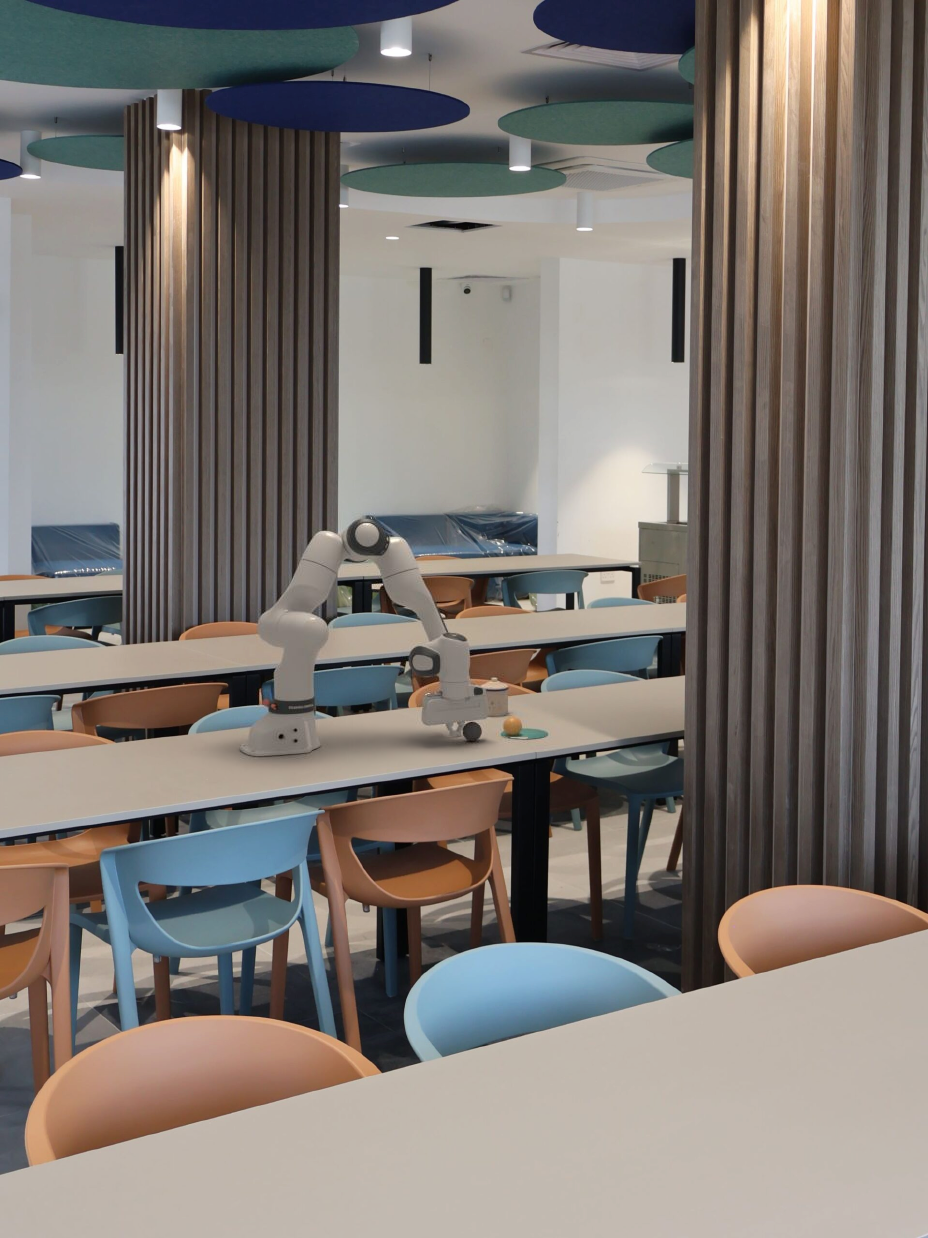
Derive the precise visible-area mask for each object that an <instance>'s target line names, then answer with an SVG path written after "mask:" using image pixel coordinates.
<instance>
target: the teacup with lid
mask: <svg viewBox="0 0 928 1238" xmlns="http://www.w3.org/2000/svg"><path fill="white" fill-rule="evenodd" d="M480 686H481V687H484V688H485V689H486V694H485V695H484V696H486V698H487V701H488V712H489V713H488V717H493V718H494V717H496V718H497V717H504V716H506V715H508V713H509V685H508V684H506V683H503V682H502V681H500V680H498V678H497V677H491V679H490V680H489V681H487V682H485V683H484V684H481V685H480Z"/></svg>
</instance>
